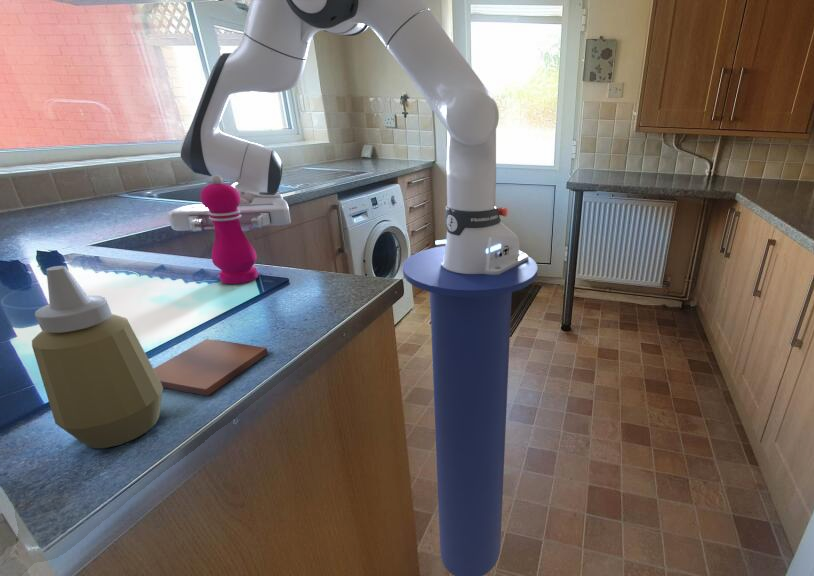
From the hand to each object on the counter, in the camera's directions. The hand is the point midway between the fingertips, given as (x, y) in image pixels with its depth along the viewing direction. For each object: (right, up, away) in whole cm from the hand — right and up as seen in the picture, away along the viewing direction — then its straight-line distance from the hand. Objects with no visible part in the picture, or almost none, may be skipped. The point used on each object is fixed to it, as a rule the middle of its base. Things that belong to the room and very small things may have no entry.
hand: (226, 225), depth 76 cm
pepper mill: (-1, -10, +5) cm, 11 cm away
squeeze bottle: (+12, -27, -33) cm, 44 cm away
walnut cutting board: (+13, -22, -23) cm, 34 cm away
